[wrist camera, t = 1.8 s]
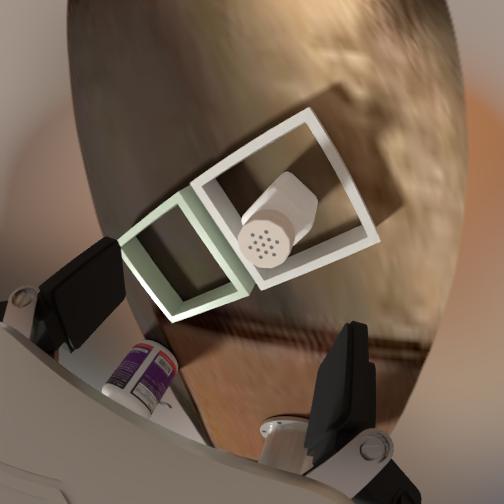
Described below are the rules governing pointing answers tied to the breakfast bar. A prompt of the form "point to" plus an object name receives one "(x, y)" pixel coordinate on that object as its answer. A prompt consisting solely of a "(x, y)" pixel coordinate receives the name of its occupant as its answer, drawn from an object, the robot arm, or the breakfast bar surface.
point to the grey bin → (310, 257)
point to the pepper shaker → (277, 221)
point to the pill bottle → (142, 377)
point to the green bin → (214, 242)
